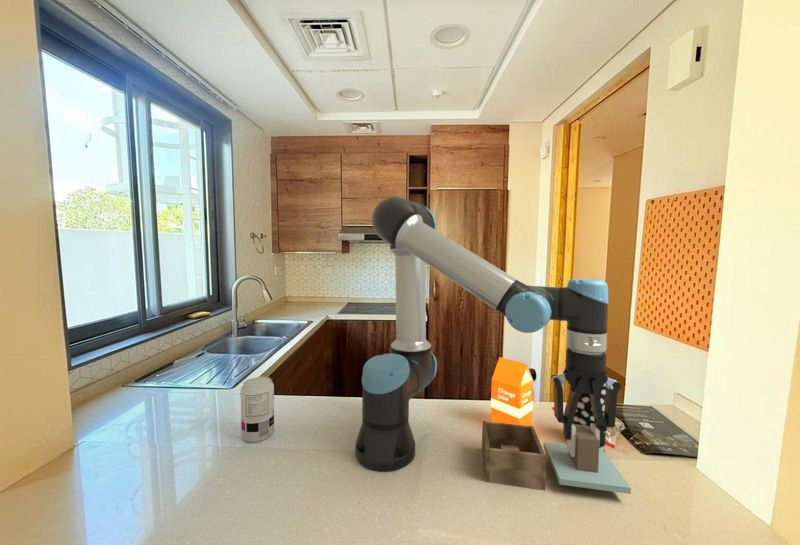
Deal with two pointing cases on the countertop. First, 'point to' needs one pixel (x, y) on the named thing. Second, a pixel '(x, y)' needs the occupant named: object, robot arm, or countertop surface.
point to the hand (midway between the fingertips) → (582, 454)
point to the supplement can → (257, 409)
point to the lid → (585, 464)
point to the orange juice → (512, 393)
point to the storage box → (513, 455)
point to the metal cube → (510, 447)
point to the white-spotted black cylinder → (589, 411)
